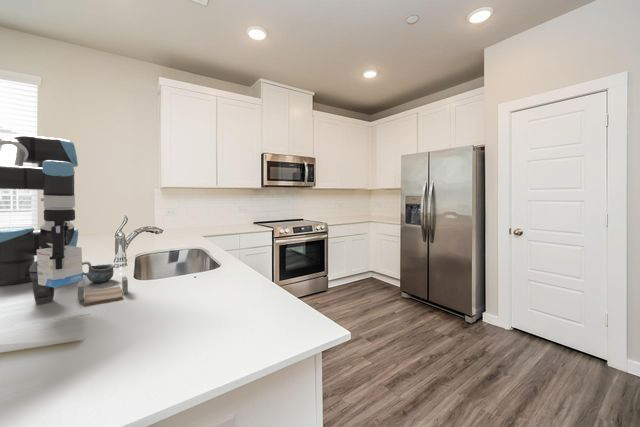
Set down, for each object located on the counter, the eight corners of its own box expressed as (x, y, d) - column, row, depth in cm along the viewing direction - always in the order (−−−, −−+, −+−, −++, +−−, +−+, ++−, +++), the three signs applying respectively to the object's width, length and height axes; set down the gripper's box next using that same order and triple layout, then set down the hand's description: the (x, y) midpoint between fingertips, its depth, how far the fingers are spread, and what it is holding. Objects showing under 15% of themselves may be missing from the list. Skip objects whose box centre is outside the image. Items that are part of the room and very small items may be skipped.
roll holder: (79, 294, 107) (78, 279, 107) (125, 287, 116) (125, 273, 116) (77, 307, 96) (76, 290, 95) (128, 298, 105) (128, 282, 105)
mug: (118, 281, 125) (117, 259, 125) (83, 288, 115) (83, 264, 114) (109, 277, 130) (108, 256, 130) (75, 284, 120) (74, 261, 119)
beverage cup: (40, 306, 95) (38, 249, 94) (24, 304, 97) (22, 248, 96) (63, 299, 102) (62, 245, 101) (48, 297, 104) (46, 244, 103)
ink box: (83, 280, 94) (83, 242, 93) (53, 288, 86) (52, 246, 86) (67, 277, 97) (66, 239, 96) (36, 284, 89) (35, 243, 88)
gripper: (48, 206, 97) (50, 267, 99) (37, 211, 79) (39, 286, 80) (77, 206, 102) (78, 265, 103) (72, 210, 84) (74, 281, 85)
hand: (61, 274), depth 92 cm, fingers closed on ink box, 11 cm apart
